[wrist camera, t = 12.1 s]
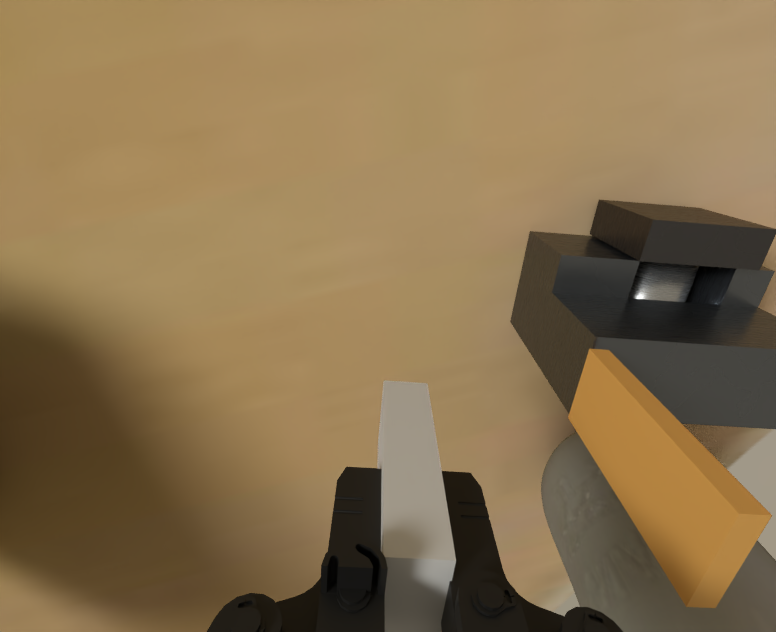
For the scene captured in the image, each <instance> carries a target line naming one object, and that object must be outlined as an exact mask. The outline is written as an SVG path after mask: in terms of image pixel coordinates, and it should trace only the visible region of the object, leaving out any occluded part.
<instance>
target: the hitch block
mask: <svg viewBox="0 0 776 632" xmlns="http://www.w3.org/2000/svg"><path fill="white" fill-rule="evenodd" d="M639 263H640V261H638V260H636V259H635V258H633V257H631V256H629V255H627V254H626V253H624V252H622V251H620V250H618V249H616V248H615V247H613V246H611V245H609V244H607V243H605V242H604V241H602V240H600V239H598V238H596V237H594V236H583V235H570V234H558V233H545V232H532V231H530V234H529V239H528V243H527V248H526V252H525V257H524V262H523V266H522V271H521V276H520V280H519V285H518V289H517V294H516V299H515V303H514V308H513V312H512V317H511V324H512V325H513V327H514V328H515V330H516V331H517V333H518V335H519V336H520V338H521V339H522V341H523V342H524V344H525V346H526V347H527V349H528V350H529V352H530V353H531V355H532V357H533V358H534V360H535V361H536V363H537V364H538V366H539V368H540V369H541V371H542V372H543V374H544V375H545V377H546V379H547V380H548V382H549V383H550V385H551V386H552V388H553V390H554V391H555V393H556V394H557V396H558V397H559V399H560V401H561V402H562V404H563V405H564V407H565V408H566V410H567V412H568V413H570V410H571V407H572V403H573V400H574V397H575V394H576V390H577V387H578V384H579V381H580V377H581V374H582V371H583V368H584V364H585V361H586V358H587V355H588V351H589V349H602V350H609V351H610V352H611V353H612V354H613V355H614V356H615V357H616V358H617V359H618V360H619V361H620V362H621V363H622V364H623V365H624V366H625V367H626V368H627V369H628V370H629V371H630V372H631V373H632V374H633V375H634V376H635V377H636V378H637V379H638V380H639V381H640V382H641V383H642V384H643V385H644V386H645V387H646V388H647V389H648V390H649V391H650V392H651V393H652V394H653V395H654V396H655V397H656V398H657V399H658V400H659V401H660V402H661V403H662V404H663V405H664V406H665V407H666V408H667V409H668V410H669V411H670V412H671V413H672V414H673V415H674V416H675V418H676V419H677V420H678V421H679V422H680V423H683V424H699V425H716V426H733V427H749V428H766V429H776V316H774V315H772V314H770V313H768V312H766V311H764V310H762V309H760V308H758V306H759V304H760V302H761V299H762V297H763V295H764V293H765V291H766V289H767V287H768V284H769V282H770V280H771V278H772V276H773V274H774V272H775V271H773V270H770V269H768V268H765V267H762V266H761V268H760V270H748V269H735V268H722V267H709V266H699V268H698V271H697V274H696V276H695V279H694V281H693V284H692V286H691V289H690V292H689V294H688V297H687V299H686V302H674V301H660V300H647V299H633V298H628V296H629V293H630V290H631V287H632V284H633V281H634V278H635V275H636V272H637V269H638V266H639Z"/></svg>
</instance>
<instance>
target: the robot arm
mask: <svg viewBox="0 0 776 632" xmlns="http://www.w3.org/2000/svg"><path fill="white" fill-rule="evenodd" d="M441 629H442V632H623V631H622V630H621V629H620V627H619V626H618V625H617V624H616V623H615V622H614V621H613V620H612V619H610V618H609V617H607V616H606V615H605V614H603V613H602V612H600V611H597V610H595V609H592V608H589V607H575V608H573V609H571V610H570V611H568V612H567V613H566V615H565V617H564V616H562V615H559V614H556V613H554V612H551V611H548V610H546V609H543V608H541V607H538V606H536V605H534V604H532V603H530V602H528V601H527V600H525V599H524V598H523V597H521V596H520V595H519V594H518V593H517V592H516V591H515V589H514V588H513V587H512V586H511V585H510V584H509V582H508V581H507V579H506V577H505V574H504V571H503V568H502V565H501V561H500V557H499V553H498V549H497V546H496V542H495V538H494V534H493V530H492V527H491V523H490V520H489V515H488V511H487V508H486V506H485V500H484V496H483V492H482V489H481V486H480V485H479V484H478V482H477V481H476V480H475V478H474V477H473V476H472V474H471V473H466V472H448V471H442V470H441V464H440V458H439V452H438V446H437V440H436V433H435V427H434V421H433V415H432V409H431V403H430V396H429V390H428V384H427V383H415V382H399V381H384V383H383V394H382V405H381V416H380V427H379V438H378V469H376V468H359V467H346V468H345V470H344V471H343V473H342V474H341V476H340V477H339V479H338V480H337V486H336V494H335V502H334V509H333V517H332V524H331V532H330V540H329V547H328V552H327V553H326V554H325V557H324V560H323V563H322V565H321V578H320V580H319V581H318V582H317V583H316V584H315V585H314V586H313V587H312V588H311V589H309V590H308V591H306V592H305V593H303V594H301V595H298V596H296V597H293V598H289V599H286V600H283V601H279V602H276V603H275V601H274V600H273V599H271V598H269V597H267V596H266V595H264V594H255V593H249V594H246V595H242V596H239V597H237V598H235V599H234V600H232V601H231V602H229V603H228V604H226V605H225V606H224V607H223V608H222V610H221V611H220V612H219V613H218V615H217V616H216V617H215V619H214V620H213V622H212V624H211V625H210V627H209V629H208V631H207V632H441Z"/></svg>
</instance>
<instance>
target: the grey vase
mask: <svg viewBox="0 0 776 632" xmlns="http://www.w3.org/2000/svg"><path fill="white" fill-rule="evenodd" d="M541 494H542V503H543V508H544V513H545V516H546V519H547V523H548V526H549V528H550V531H551V534H552V537H553V539H554V542H555V544H556V547H557V549H558V552H559V554H560V556H561V559H562V561H563V564H564V566H565V569H566V571H567V574H568V576H569V579H570V581H571V583H572V586H573V589H574V591H575V594H576V597H577V599H578V602H579V605H580V607H589V608H592V609H595V610H597V611H600V612H602V613H603V614H605V615H606V616H607V617H609V618H610V619H612V620H613V621H614V622H615V623H616V624H617V625H618V626H619V627H620V629H621V630H622V631H623V632H776V561H775V559H774V558H773V557H772V556H771V555H770V554H769V553H768V552H767V551H766V549H765V548H764V547H763V546H762V545H761V544H760V543H759V542H758V541H756V543H755V544H754V546H753V548H752V549H751V551H750V553H749V554H748V556H747V557H746V559H745V561H744V562H743V564H742V566H741V567H740V569H739V570H738V572H737V574H736V575H735V577H734V579H733V580H732V582H731V584H730V585H729V587H728V588H727V590H726V592H725V593H724V595H723V597H722V598H721V600H720V602H719V603H718V605H717V606H716V608H699V607H686V606H685V604H684V603H683V601H682V599H681V598H680V596H679V595H678V593H677V591H676V590H675V588H674V587H673V585H672V583H671V582H670V580H669V579H668V577H667V575H666V574H665V572H664V571H663V569H662V567H661V566H660V564H659V563H658V561H657V559H656V558H655V556H654V555H653V553H652V551H651V550H650V548H649V547H648V545H647V543H646V542H645V540H644V539H643V537H642V535H641V534H640V532H639V531H638V529H637V527H636V526H635V524H634V523H633V521H632V519H631V518H630V516H629V515H628V513H627V511H626V510H625V508H624V507H623V505H622V503H621V502H620V500H619V499H618V497H617V495H616V494H615V492H614V491H613V489H612V487H611V486H610V484H609V483H608V481H607V479H606V478H605V476H604V475H603V473H602V471H601V470H600V468H599V467H598V465H597V463H596V462H595V460H594V459H593V457H592V455H591V454H590V452H589V451H588V449H587V447H586V446H585V444H584V442H583V441H582V439H581V438H580V436H579V434H578V433H577V432H576V433H574V434H572V435H570V436H569V437H567V438H566V439H565V440H564V441H563V442H562V443H561V444H560V445H559V446H558V447H557V448H556V449H555V450H554V452H553V453H552V455H551V457H550V458H549V460H548V462H547V464H546V467H545V470H544V473H543V477H542V484H541Z"/></svg>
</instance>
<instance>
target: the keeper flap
mask: <svg viewBox="0 0 776 632" xmlns="http://www.w3.org/2000/svg"><path fill="white" fill-rule="evenodd" d="M568 418H569V420H570V422H571V423H572V425H573V426H574V428H575V430H576V431H577V433H578V434H579V436H580V438H581V439H582V441H583V442H584V444H585V446H586V447H587V449H588V451H589V452H590V454H591V455H592V457H593V459H594V460H595V462H596V463H597V465H598V467H599V468H600V470H601V471H602V473H603V475H604V476H605V478H606V479H607V481H608V483H609V484H610V486H611V487H612V489H613V491H614V492H615V494H616V495H617V497H618V499H619V500H620V502H621V503H622V505H623V507H624V508H625V510H626V511H627V513H628V515H629V516H630V518H631V519H632V521H633V523H634V524H635V526H636V527H637V529H638V531H639V532H640V534H641V535H642V537H643V539H644V540H645V542H646V543H647V545H648V547H649V548H650V550H651V551H652V553H653V555H654V556H655V558H656V559H657V561H658V563H659V564H660V566H661V567H662V569H663V571H664V572H665V574H666V575H667V577H668V579H669V580H670V582H671V583H672V585H673V587H674V588H675V590H676V591H677V593H678V595H679V596H680V598H681V599H682V601H683V603H684V604H685V606H686V607H699V608H716V606H717V605H718V603H719V602H720V600H721V598H722V597H723V595H724V593H725V592H726V590H727V588H728V587H729V585H730V584H731V582H732V580H733V579H734V577H735V575H736V574H737V572H738V570H739V569H740V567H741V566H742V564H743V562H744V561H745V559H746V557H747V556H748V554H749V553H750V551H751V549H752V548H753V546H754V544H755V543H756V541H757V539H758V538H759V536H760V534H761V533H762V531H763V530H764V528H765V526H766V525H767V523H768V521H769V520H770V518H771V517H772V515H771V514H770V513H769V512H768V511H767V510H766V509H765V508H764V507H763V506H762V505H761V504H760V503H759V502H758V501H757V500H756V499H755V498H754V497H753V496H752V495H751V494H750V493H749V492H748V491H747V489H745V488H744V487H743V485H742V484H741V483H740V482H739V481H738V480H737V479H736V478H735V477H734V476H732V474H730V473H729V471H728V470H727V469H726V468H725V467H724V466H723V465H722V464H721V463H720V462H719V461H718V460H717V459H716V458H715V457H714V456H713V455H712V454H711V453H710V452H709V451H708V450H707V449H706V448H705V447H704V446H703V445H702V444H701V443H700V442H699V441H698V440H697V439H696V438H695V437H694V436H693V435H692V434H691V433H690V432H689V431H688V430H687V429H686V428H685V427H684V426H683V425H682V424H681V423H680V422H679V421H678V420H677V419H676V418H675V416H674V415H673V414H672V413H671V412H670V411H669V410H668V409H667V408H666V407H665V406H664V405H663V404H662V403H661V402H660V401H659V400H658V399H657V398H656V397H655V396H654V395H653V394H652V393H651V392H650V391H649V390H648V389H647V388H646V387H645V386H644V385H643V384H642V383H641V382H640V381H639V380H638V379H637V378H636V377H635V376H634V375H633V374H632V373H631V372H630V371H629V370H628V369H627V368H626V367H625V366H624V365H623V364H622V363H621V362H620V361H619V360H618V359H617V358H616V357H615V356H614V355H613V354H612V353H611V352H610V351H609V350H602V349H589V351H588V355H587V358H586V361H585V364H584V368H583V371H582V374H581V377H580V381H579V384H578V387H577V390H576V394H575V397H574V400H573V403H572V407H571V410H570V413H569V416H568Z"/></svg>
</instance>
